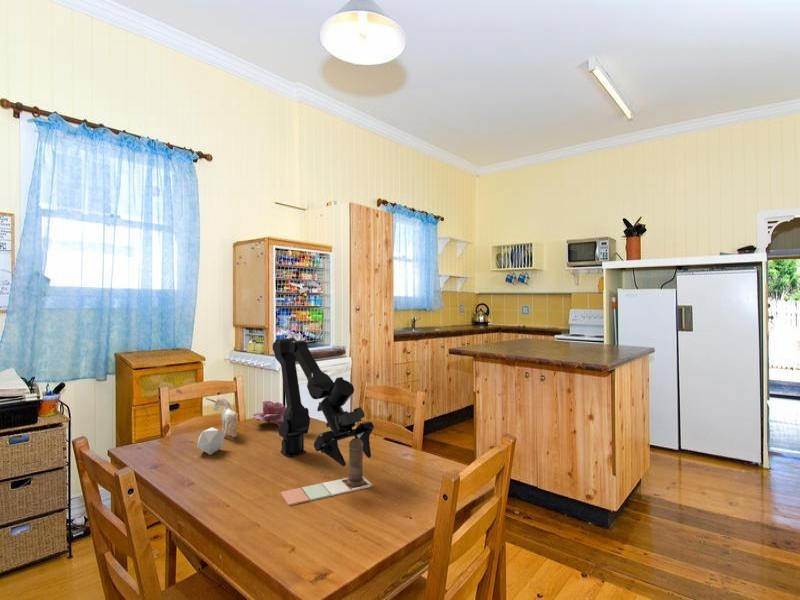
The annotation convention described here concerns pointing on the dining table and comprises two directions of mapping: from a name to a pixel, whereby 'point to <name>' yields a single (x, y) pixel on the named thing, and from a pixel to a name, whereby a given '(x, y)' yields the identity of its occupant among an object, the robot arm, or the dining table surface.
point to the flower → (271, 413)
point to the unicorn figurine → (226, 416)
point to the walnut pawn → (355, 463)
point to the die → (211, 440)
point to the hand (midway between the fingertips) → (357, 461)
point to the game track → (318, 491)
